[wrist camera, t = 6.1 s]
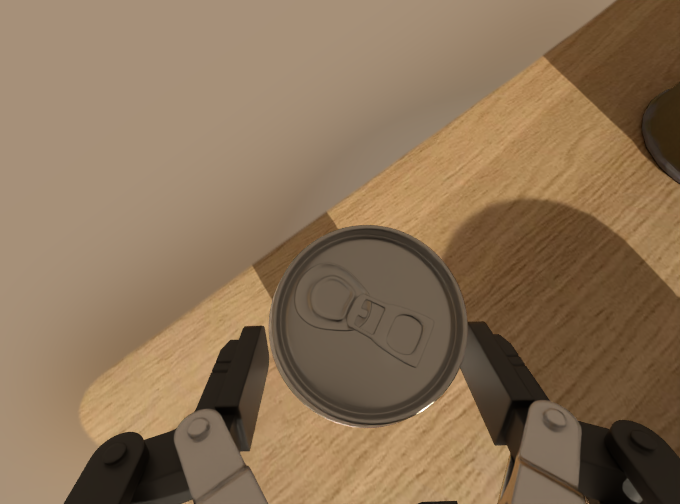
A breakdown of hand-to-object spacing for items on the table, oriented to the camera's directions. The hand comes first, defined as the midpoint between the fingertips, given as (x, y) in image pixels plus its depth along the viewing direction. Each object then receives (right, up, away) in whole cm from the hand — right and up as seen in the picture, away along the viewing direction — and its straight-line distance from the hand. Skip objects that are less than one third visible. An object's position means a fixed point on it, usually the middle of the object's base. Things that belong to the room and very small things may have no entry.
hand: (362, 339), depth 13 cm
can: (0, -2, +8) cm, 8 cm away
